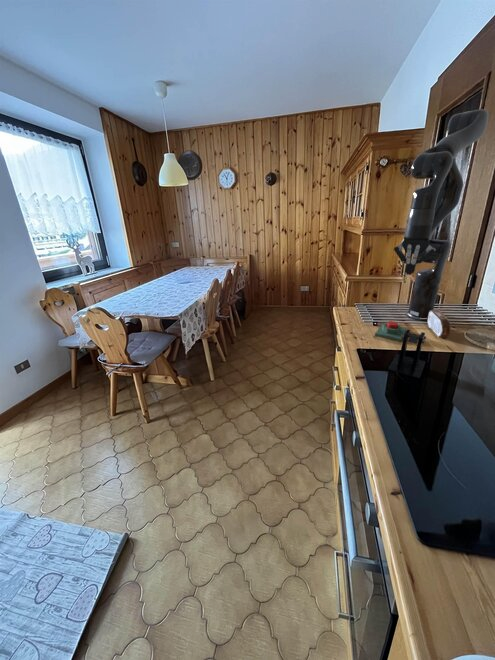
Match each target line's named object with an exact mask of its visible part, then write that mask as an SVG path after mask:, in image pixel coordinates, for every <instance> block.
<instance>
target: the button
mask: <svg viewBox="0 0 495 660" xmlns="http://www.w3.org/2000/svg"><path fill="white" fill-rule="evenodd" d="M386 323H387V327H388V328H392V329H396V328H397V326H398V325H399V323H398V322H396V321H391V320H390V321H387V322H386Z"/></svg>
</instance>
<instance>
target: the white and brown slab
mask: <svg viewBox="0 0 495 660" xmlns="http://www.w3.org/2000/svg"><path fill="white" fill-rule="evenodd" d="M426 321H427V327H428V328H430V329H431V330H432V331H433V332H434V333H435V334H436V336H437V338H439V339H447V338H448V337H449V335H450V332H451V323H450V320H449V318H448V317H447V316H446V315H445V314H444V313H443V311H441V310H440V309H439V308H438V309H433V310H430V311H429V314H428V320H426Z"/></svg>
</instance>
